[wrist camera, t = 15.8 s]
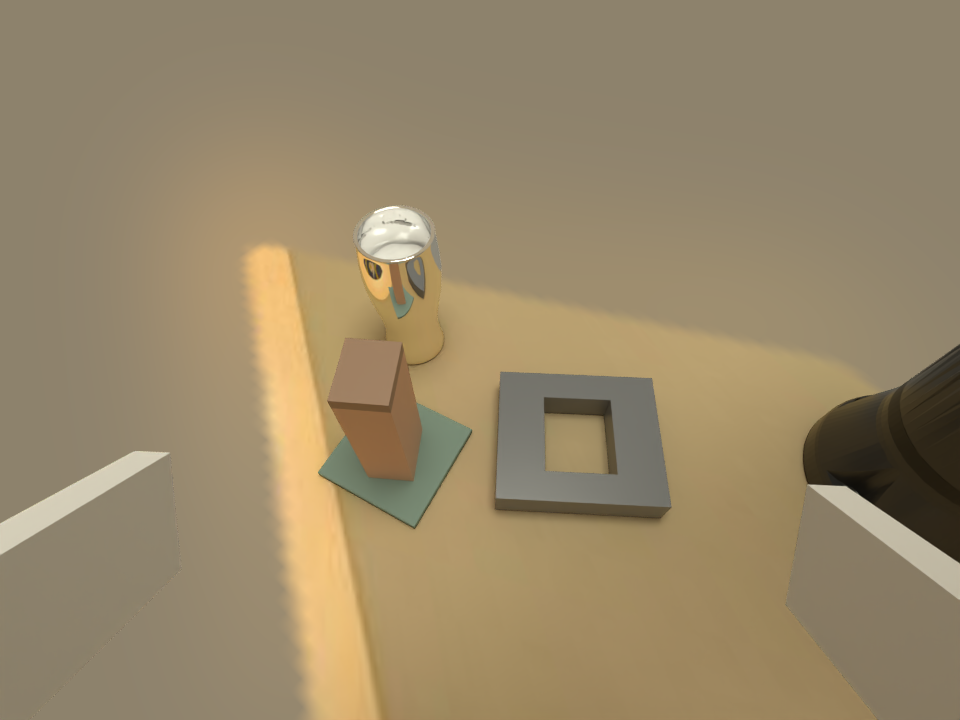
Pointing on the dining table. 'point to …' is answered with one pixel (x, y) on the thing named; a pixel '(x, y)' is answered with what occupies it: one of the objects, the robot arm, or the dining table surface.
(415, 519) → the mat
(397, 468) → the brown tall block
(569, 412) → the socket block
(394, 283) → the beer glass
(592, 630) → the dining table surface
